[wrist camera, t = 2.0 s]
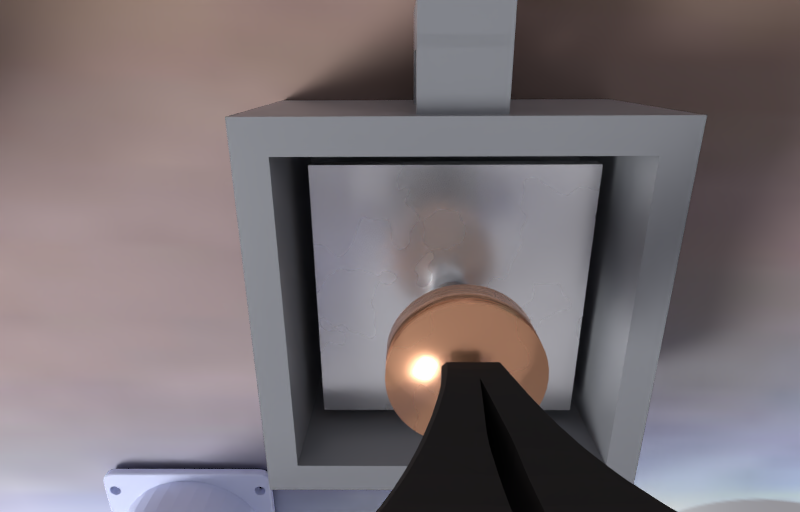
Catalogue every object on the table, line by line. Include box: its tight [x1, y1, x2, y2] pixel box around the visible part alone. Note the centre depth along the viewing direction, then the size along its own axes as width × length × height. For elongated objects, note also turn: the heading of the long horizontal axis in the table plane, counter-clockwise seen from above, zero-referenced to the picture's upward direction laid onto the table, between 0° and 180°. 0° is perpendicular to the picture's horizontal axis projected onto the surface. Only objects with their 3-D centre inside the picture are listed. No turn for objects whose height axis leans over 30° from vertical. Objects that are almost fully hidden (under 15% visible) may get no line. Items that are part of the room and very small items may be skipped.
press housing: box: [225, 0, 707, 490], centre depth 17 cm, size 15×12×6 cm
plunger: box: [308, 161, 603, 435], centre depth 15 cm, size 9×9×5 cm
